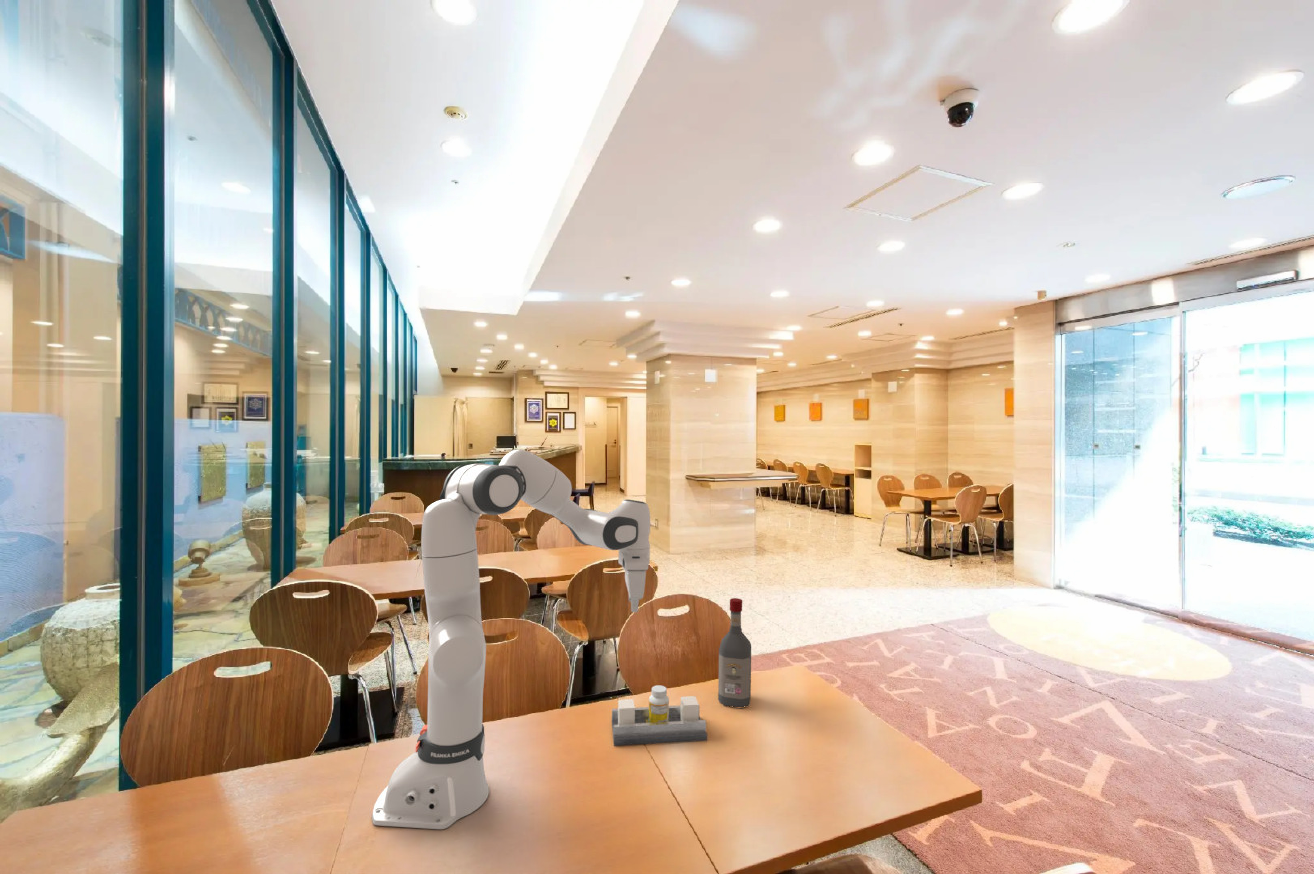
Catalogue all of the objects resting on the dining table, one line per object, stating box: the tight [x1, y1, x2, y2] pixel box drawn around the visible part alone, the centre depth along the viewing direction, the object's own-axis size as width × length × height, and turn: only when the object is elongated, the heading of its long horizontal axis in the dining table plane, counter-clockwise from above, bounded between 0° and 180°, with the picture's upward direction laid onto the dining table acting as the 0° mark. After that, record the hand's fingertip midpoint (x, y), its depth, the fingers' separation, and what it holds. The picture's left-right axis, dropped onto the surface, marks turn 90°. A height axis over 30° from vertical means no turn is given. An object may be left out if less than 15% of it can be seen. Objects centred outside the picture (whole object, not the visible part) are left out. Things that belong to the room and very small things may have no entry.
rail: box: [611, 704, 708, 747], centre depth 142 cm, size 24×12×4 cm, turn 98°
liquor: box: [717, 597, 752, 708], centre depth 159 cm, size 9×9×30 cm
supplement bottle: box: [648, 684, 670, 723], centre depth 142 cm, size 5×5×10 cm
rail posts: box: [617, 695, 700, 725], centre depth 142 cm, size 21×5×6 cm, turn 98°
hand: (633, 606), depth 150 cm, fingers open, 8 cm apart
